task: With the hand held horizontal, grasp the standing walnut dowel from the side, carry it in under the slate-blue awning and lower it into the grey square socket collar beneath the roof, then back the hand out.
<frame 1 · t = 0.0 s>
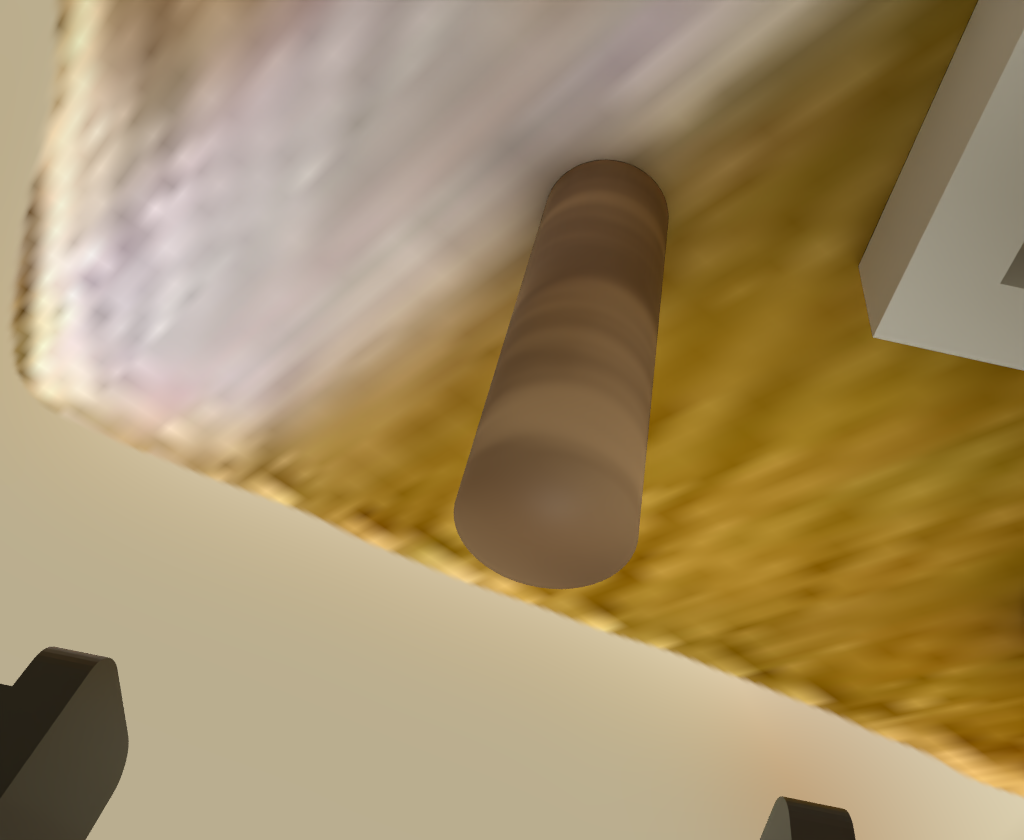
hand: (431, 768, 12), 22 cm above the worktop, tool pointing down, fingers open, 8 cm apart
peg: (606, 217, 31), on the worktop
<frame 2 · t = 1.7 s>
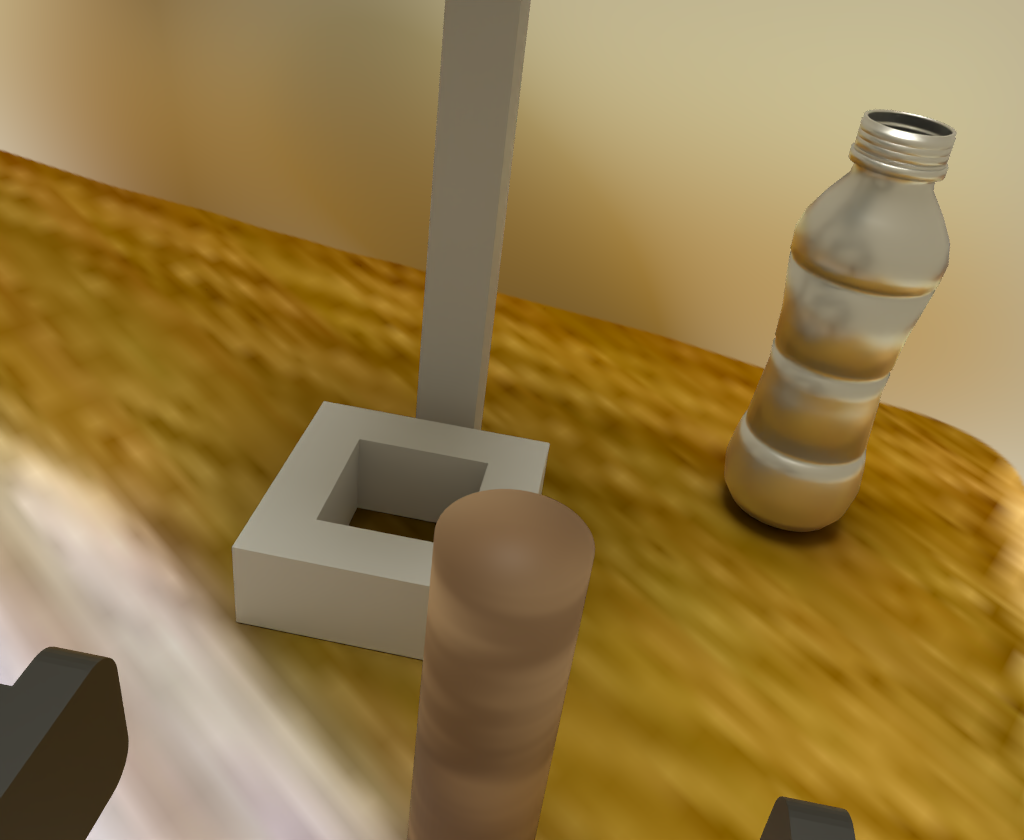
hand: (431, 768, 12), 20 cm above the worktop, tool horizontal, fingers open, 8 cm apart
plastic bottle: (777, 510, 50), on the worktop
socket stand: (402, 560, 43), on the worktop
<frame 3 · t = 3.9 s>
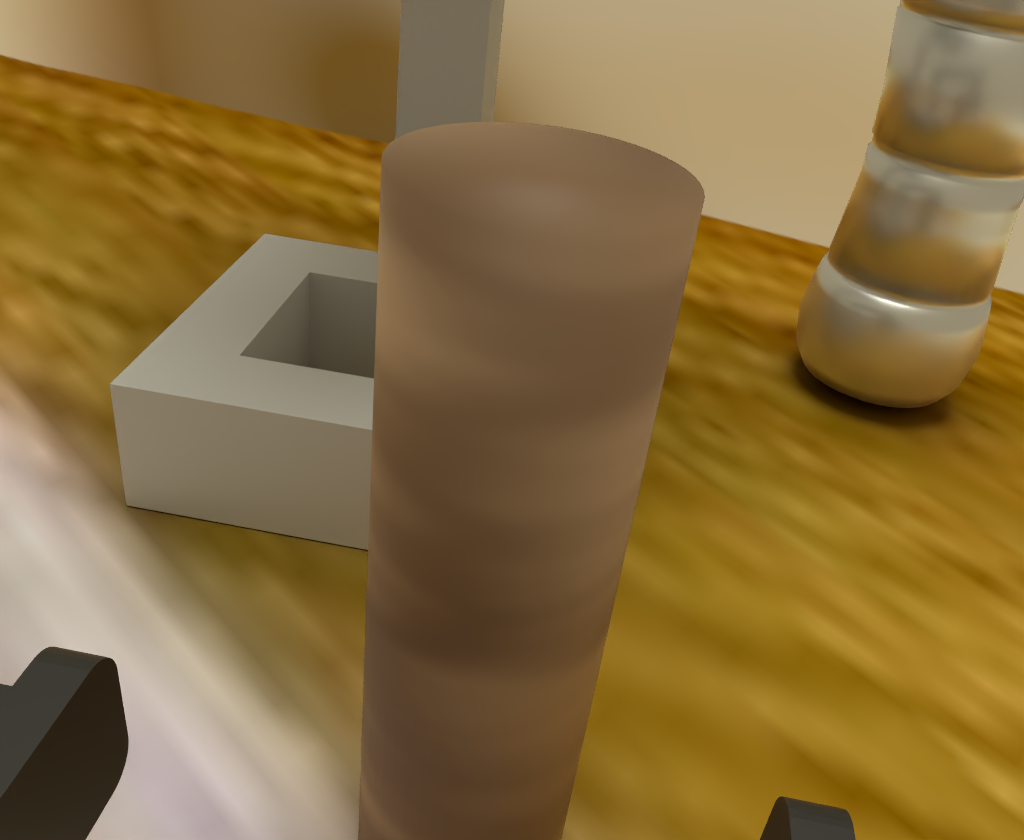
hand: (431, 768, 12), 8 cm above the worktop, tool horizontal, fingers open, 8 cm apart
plastic bottle: (865, 389, 38), on the worktop
socket stand: (369, 435, 31), on the worktop
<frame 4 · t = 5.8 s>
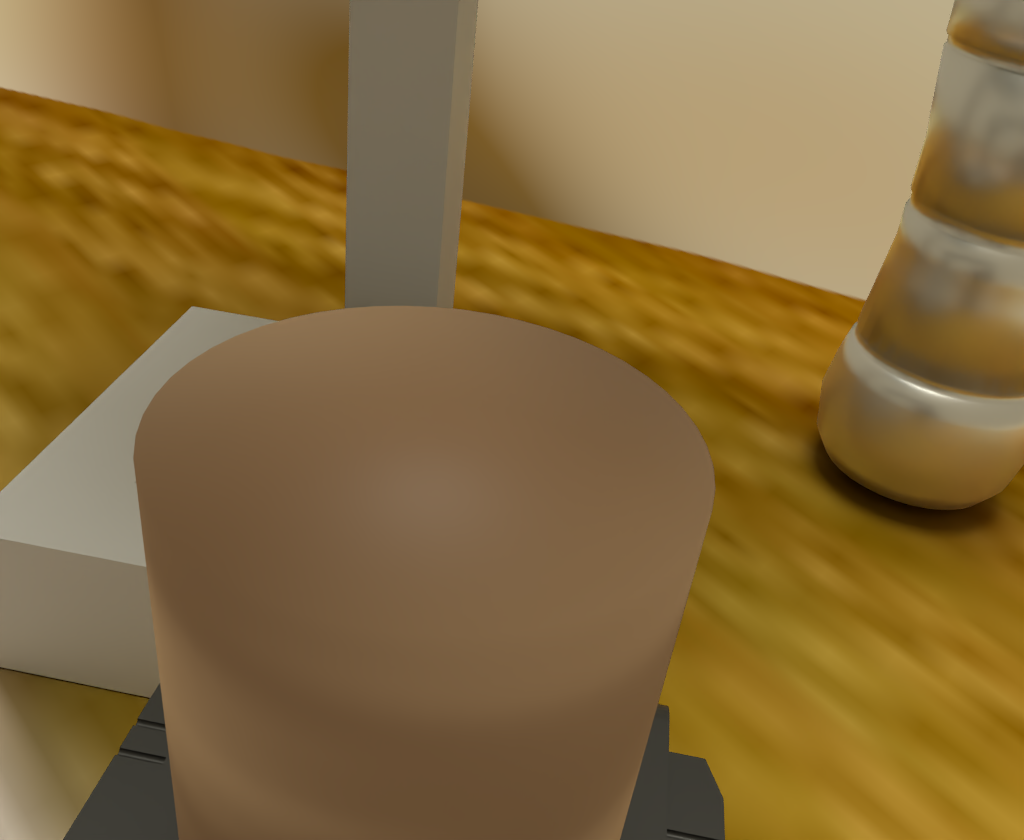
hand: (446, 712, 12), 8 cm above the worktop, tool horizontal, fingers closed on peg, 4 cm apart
plastic bottle: (897, 480, 33), on the worktop
socket stand: (307, 556, 26), on the worktop
when the fingers open (10 cm above the worktop, at t = 10.5 s): peg drops 2 cm, resting in socket stand.
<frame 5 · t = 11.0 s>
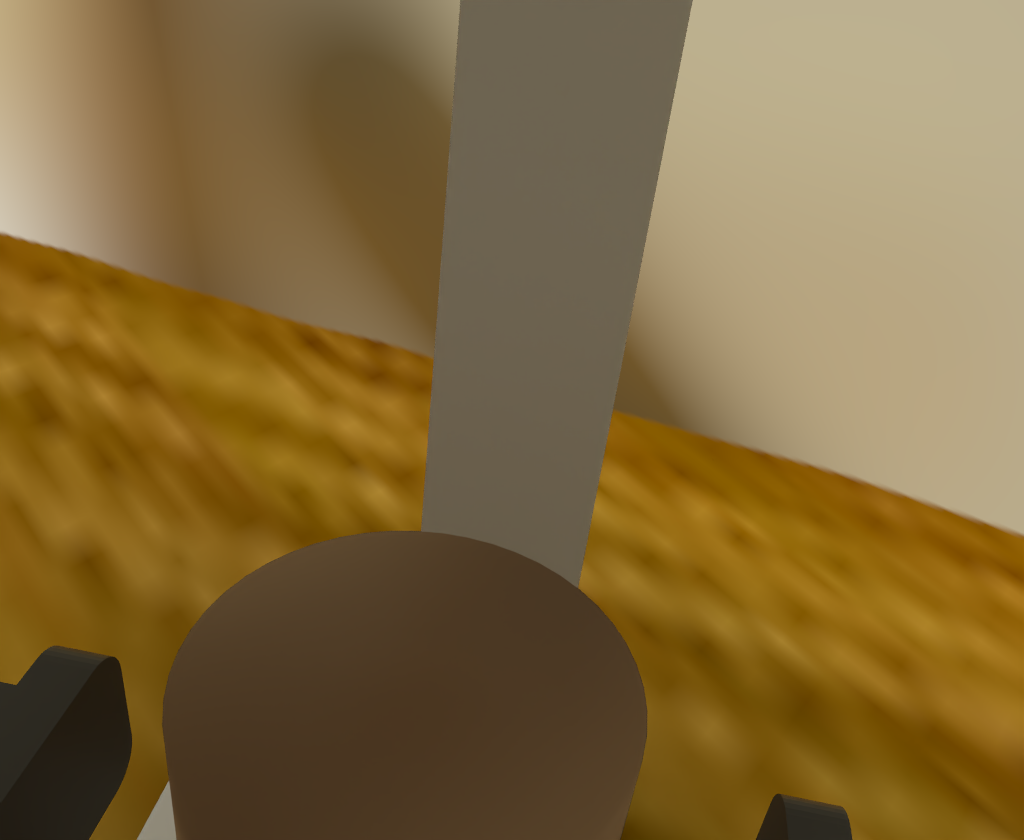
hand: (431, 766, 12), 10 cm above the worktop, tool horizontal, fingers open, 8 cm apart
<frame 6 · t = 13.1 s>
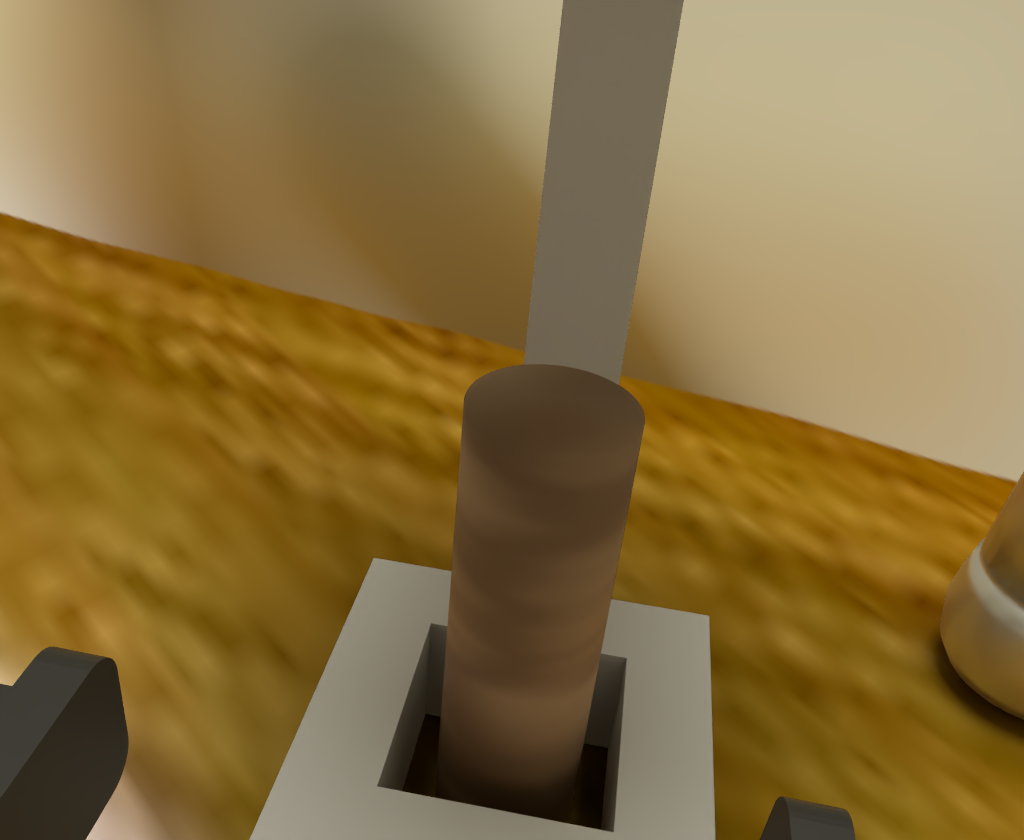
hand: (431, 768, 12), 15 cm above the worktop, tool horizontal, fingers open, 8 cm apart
plastic bottle: (1017, 686, 35), on the worktop
peg: (501, 811, 29), resting in socket stand
socket stand: (500, 809, 29), on the worktop
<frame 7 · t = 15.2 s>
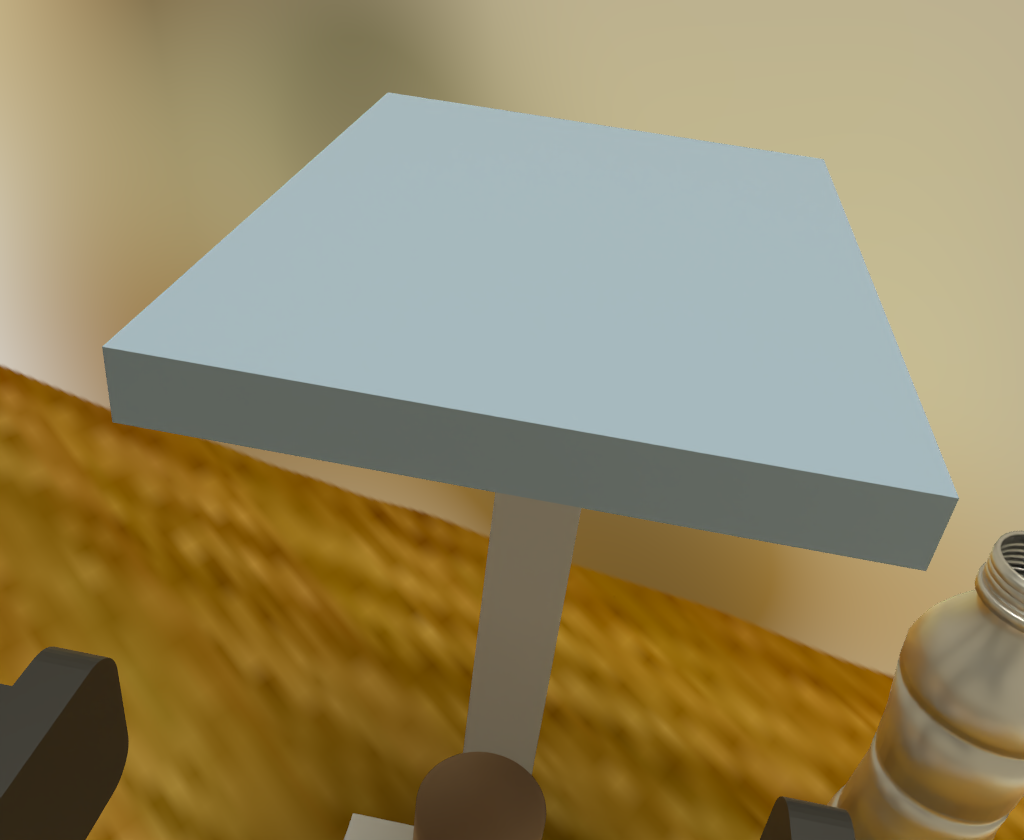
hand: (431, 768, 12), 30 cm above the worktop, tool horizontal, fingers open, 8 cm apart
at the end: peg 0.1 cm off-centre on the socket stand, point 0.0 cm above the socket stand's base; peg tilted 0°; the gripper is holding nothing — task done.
